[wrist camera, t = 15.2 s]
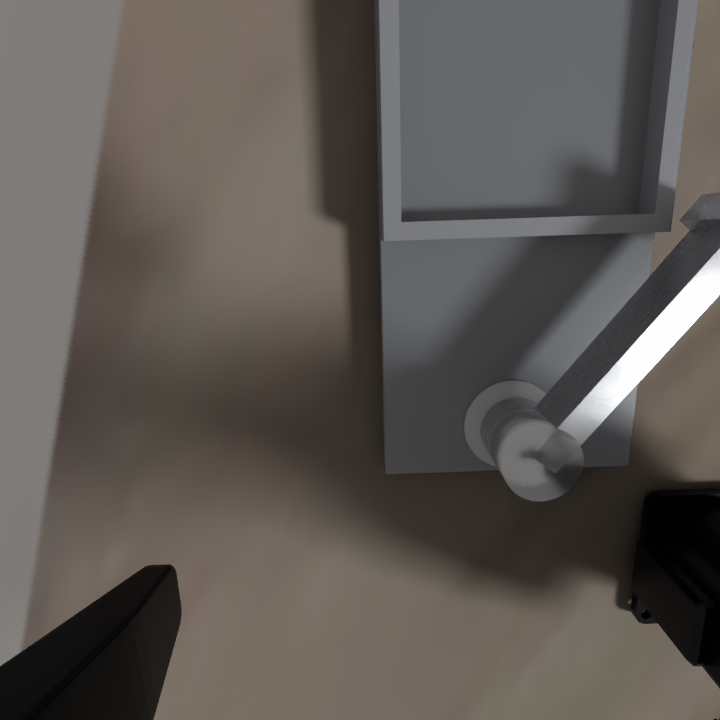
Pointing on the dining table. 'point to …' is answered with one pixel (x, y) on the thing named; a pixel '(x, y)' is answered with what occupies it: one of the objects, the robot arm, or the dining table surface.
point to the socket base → (515, 203)
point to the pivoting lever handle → (606, 366)
